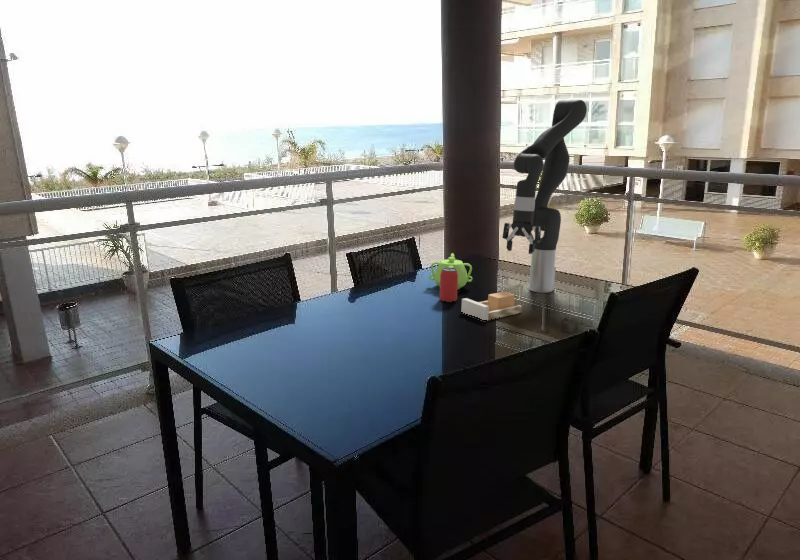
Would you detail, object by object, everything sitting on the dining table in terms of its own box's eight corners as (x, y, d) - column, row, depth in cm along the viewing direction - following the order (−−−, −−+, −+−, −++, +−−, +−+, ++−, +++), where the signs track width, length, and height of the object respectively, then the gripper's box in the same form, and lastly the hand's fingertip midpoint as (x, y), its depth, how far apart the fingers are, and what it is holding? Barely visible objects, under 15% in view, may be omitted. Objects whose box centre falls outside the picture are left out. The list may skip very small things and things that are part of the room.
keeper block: (503, 307, 211) (504, 291, 210) (513, 310, 207) (514, 294, 206) (487, 310, 207) (488, 294, 205) (497, 314, 203) (498, 298, 201)
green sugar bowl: (423, 285, 239) (424, 255, 236) (451, 280, 246) (452, 251, 243) (446, 294, 226) (447, 263, 223) (475, 289, 233) (476, 259, 230)
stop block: (465, 311, 205) (466, 298, 204) (488, 320, 196) (488, 306, 195) (461, 312, 204) (461, 298, 202) (483, 321, 195) (484, 307, 193)
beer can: (457, 298, 221) (458, 267, 218) (456, 303, 215) (458, 271, 212) (439, 297, 222) (440, 266, 219) (439, 302, 215) (440, 270, 212)
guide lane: (498, 304, 214) (498, 298, 213) (521, 312, 205) (521, 305, 204) (465, 311, 205) (465, 304, 204) (488, 320, 196) (488, 313, 195)
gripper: (546, 210, 214) (541, 253, 218) (511, 206, 222) (507, 248, 226) (538, 211, 208) (533, 256, 212) (502, 207, 216) (498, 250, 220)
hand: (519, 252), depth 219 cm, fingers open, 8 cm apart
